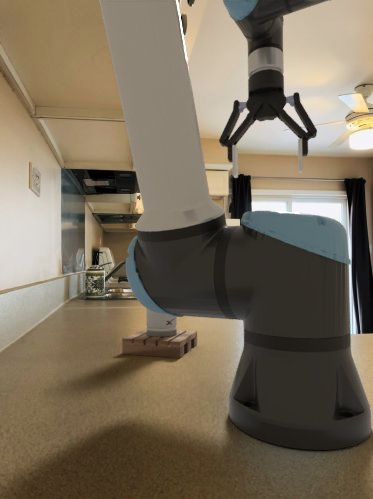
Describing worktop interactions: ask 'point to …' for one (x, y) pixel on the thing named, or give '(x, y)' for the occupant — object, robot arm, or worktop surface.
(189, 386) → the worktop surface
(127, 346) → the pallet dock
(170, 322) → the travel mug
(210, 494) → the worktop surface
